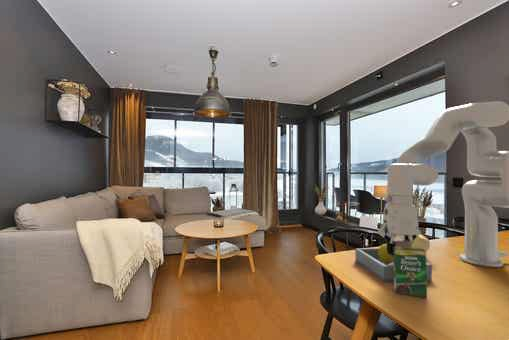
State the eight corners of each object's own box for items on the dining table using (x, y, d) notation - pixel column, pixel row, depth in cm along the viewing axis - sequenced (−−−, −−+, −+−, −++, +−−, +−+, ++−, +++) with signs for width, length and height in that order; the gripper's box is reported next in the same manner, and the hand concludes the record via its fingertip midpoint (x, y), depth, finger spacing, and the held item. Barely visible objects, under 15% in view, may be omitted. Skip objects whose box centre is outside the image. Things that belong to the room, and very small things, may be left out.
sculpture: (434, 262, 99) (435, 234, 99) (403, 261, 99) (403, 233, 99) (417, 252, 110) (417, 227, 110) (388, 251, 111) (389, 227, 111)
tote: (394, 259, 101) (395, 247, 101) (431, 280, 83) (431, 264, 83) (355, 261, 99) (355, 248, 99) (384, 282, 81) (384, 266, 81)
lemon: (380, 267, 91) (380, 244, 91) (376, 261, 97) (376, 240, 97) (397, 268, 90) (397, 245, 90) (392, 262, 96) (392, 241, 96)
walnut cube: (411, 257, 84) (411, 242, 84) (396, 257, 83) (396, 242, 83) (400, 252, 89) (401, 238, 89) (387, 252, 88) (387, 238, 88)
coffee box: (394, 293, 74) (394, 248, 74) (392, 289, 77) (393, 245, 76) (427, 298, 71) (427, 251, 71) (424, 294, 74) (424, 248, 74)
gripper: (382, 201, 81) (381, 258, 81) (431, 201, 83) (431, 257, 83) (369, 199, 89) (368, 251, 89) (415, 198, 90) (414, 250, 91)
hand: (398, 253), depth 86 cm, fingers closed on walnut cube, 5 cm apart
